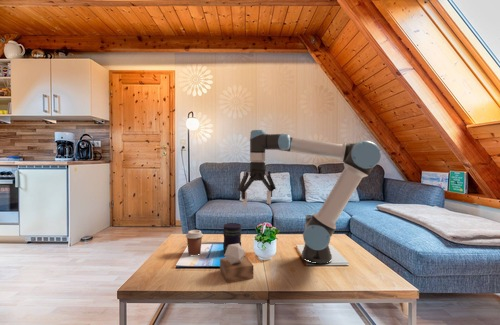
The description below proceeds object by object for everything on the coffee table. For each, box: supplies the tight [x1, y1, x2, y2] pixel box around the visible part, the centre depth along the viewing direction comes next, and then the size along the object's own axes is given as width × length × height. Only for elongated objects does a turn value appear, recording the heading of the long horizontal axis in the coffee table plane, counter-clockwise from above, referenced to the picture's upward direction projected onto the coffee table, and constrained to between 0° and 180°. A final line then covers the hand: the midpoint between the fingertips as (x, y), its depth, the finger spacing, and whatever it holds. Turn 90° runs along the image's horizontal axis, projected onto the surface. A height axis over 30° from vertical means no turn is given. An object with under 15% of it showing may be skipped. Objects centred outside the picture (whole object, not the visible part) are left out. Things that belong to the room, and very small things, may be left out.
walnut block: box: [219, 255, 254, 283], centre depth 119 cm, size 12×12×6 cm
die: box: [223, 243, 246, 264], centre depth 118 cm, size 8×9×10 cm
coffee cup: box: [185, 229, 204, 256], centre depth 143 cm, size 9×9×12 cm
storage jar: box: [222, 222, 242, 254], centre depth 146 cm, size 10×10×15 cm
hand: (257, 204), depth 132 cm, fingers open, 13 cm apart
